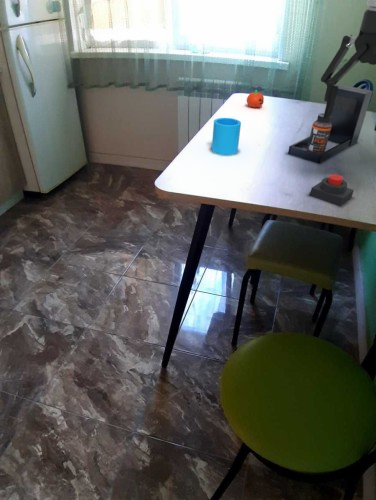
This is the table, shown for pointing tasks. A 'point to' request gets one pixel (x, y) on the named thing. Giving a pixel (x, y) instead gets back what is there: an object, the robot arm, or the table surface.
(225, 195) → the table surface
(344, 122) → the dark l-shaped stand
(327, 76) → the robot arm
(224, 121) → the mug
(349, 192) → the control block
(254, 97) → the pumpkin
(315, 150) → the supplement bottle
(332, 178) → the button
